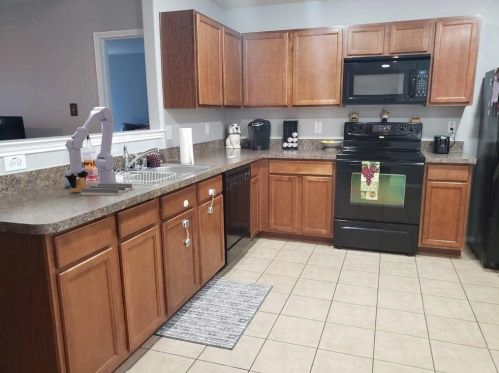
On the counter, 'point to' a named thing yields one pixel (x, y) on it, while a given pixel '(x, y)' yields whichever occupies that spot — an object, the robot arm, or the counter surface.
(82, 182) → the orange block
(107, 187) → the slot rack
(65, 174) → the medicine box
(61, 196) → the counter surface
